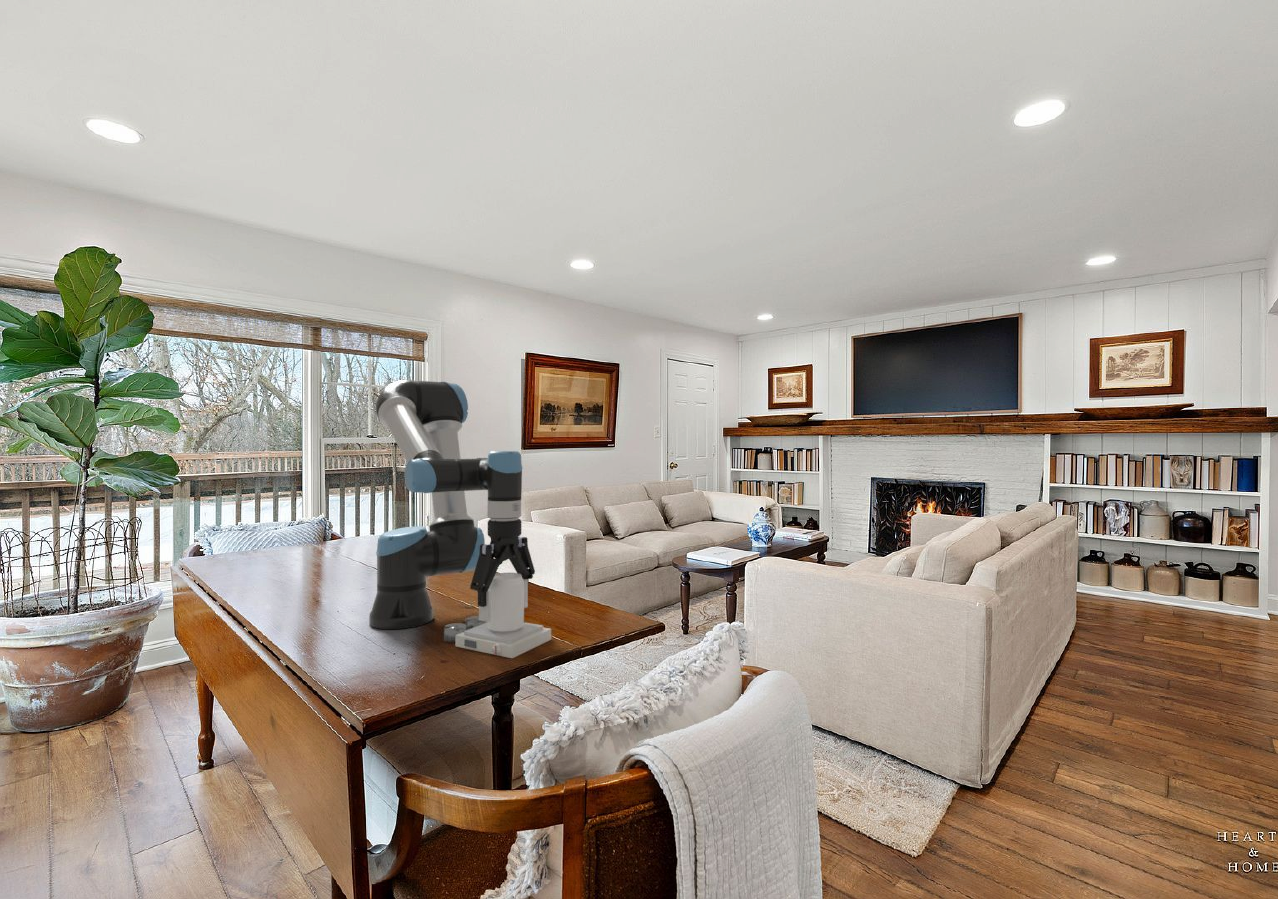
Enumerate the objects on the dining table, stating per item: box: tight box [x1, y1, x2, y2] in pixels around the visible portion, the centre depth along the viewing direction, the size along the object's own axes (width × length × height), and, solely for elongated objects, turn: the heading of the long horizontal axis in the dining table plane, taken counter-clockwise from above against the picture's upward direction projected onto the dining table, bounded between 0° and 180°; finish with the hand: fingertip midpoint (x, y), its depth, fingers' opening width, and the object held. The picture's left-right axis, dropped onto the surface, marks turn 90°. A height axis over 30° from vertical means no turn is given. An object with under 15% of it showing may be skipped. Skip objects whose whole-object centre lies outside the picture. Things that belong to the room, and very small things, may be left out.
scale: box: [454, 621, 552, 659], centre depth 138 cm, size 16×15×3 cm
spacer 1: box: [443, 622, 466, 643], centre depth 141 cm, size 5×5×3 cm
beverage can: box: [487, 572, 525, 633], centre depth 138 cm, size 8×8×12 cm
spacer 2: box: [464, 615, 487, 630], centre depth 147 cm, size 5×5×3 cm
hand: (504, 613), depth 138 cm, fingers open, 12 cm apart
